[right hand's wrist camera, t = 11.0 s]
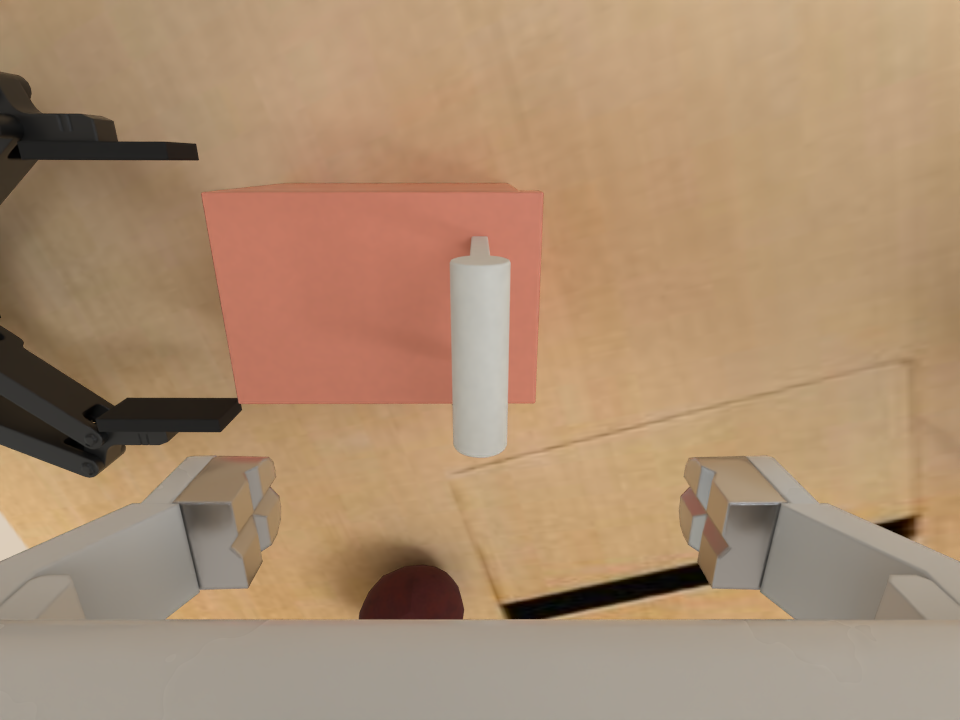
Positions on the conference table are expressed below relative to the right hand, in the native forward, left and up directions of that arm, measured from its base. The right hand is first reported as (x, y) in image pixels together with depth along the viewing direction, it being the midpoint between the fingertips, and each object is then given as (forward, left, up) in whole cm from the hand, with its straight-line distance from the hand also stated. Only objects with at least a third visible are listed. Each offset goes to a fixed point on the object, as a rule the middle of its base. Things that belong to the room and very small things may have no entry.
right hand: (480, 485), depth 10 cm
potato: (-15, +21, -24) cm, 35 cm away
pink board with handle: (+3, +3, -15) cm, 16 cm away
